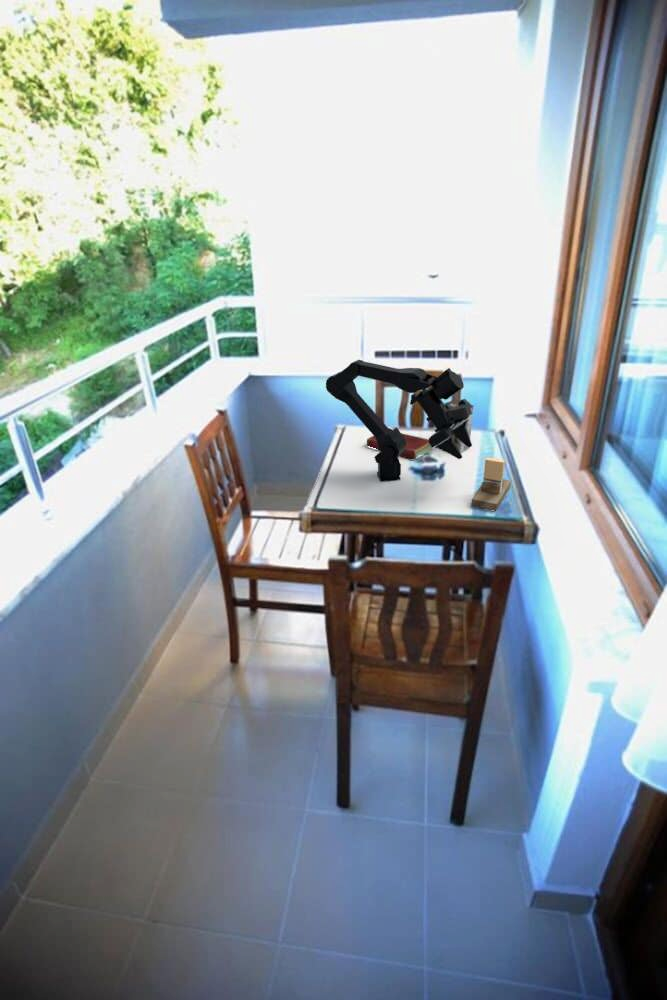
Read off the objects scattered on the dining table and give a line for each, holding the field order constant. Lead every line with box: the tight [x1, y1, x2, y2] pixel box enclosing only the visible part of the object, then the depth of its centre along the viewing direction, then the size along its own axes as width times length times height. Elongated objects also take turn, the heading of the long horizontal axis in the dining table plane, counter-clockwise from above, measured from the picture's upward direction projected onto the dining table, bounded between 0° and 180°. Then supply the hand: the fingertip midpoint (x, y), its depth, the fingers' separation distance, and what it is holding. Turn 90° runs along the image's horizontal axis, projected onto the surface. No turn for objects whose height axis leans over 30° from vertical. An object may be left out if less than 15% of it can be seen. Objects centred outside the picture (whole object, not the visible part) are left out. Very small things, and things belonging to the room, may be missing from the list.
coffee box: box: [443, 400, 474, 454], centre depth 176 cm, size 9×6×16 cm
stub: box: [483, 457, 506, 482], centre depth 142 cm, size 5×2×6 cm, turn 59°
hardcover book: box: [366, 432, 434, 460], centre depth 181 cm, size 12×21×4 cm, turn 49°
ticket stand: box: [470, 478, 512, 512], centre depth 145 cm, size 7×16×6 cm, turn 149°
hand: (465, 452), depth 145 cm, fingers open, 9 cm apart
